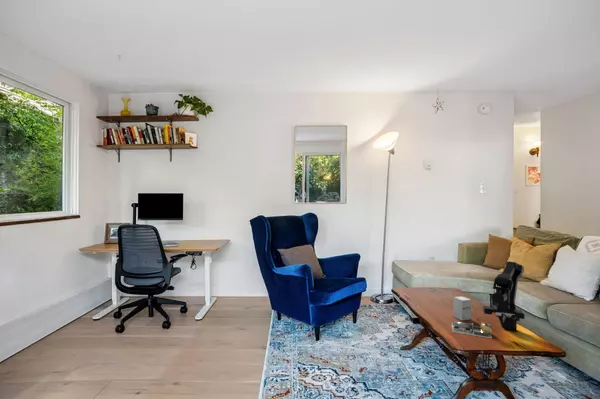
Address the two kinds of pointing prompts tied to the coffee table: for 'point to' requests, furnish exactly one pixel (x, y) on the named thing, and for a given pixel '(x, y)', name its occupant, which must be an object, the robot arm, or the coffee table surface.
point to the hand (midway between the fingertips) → (502, 327)
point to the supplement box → (462, 308)
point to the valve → (486, 327)
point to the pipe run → (468, 329)
